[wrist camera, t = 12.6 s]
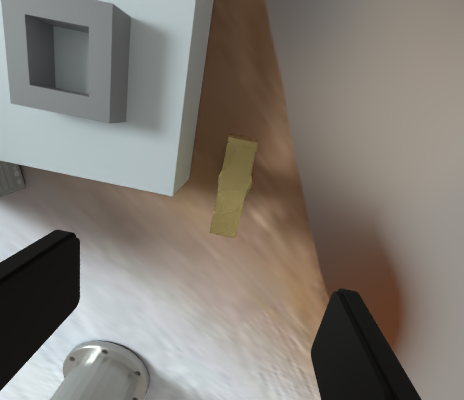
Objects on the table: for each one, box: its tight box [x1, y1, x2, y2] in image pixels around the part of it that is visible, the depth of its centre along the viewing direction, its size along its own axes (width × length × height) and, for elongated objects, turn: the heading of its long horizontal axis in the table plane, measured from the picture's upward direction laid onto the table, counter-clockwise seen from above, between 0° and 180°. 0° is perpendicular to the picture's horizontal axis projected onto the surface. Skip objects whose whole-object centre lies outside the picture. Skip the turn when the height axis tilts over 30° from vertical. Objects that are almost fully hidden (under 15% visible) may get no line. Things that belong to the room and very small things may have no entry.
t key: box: [210, 134, 258, 238], centre depth 24 cm, size 3×8×7 cm, turn 168°
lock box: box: [0, 0, 214, 196], centre depth 21 cm, size 18×16×8 cm
